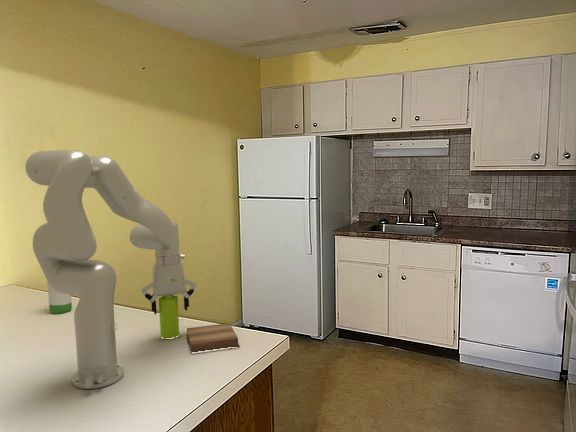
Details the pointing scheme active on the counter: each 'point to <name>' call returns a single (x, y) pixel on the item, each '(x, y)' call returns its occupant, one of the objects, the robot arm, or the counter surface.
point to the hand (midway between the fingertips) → (170, 311)
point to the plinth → (211, 337)
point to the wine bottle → (58, 301)
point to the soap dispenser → (169, 315)
